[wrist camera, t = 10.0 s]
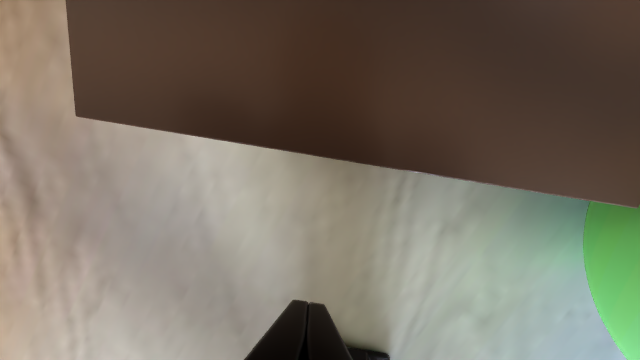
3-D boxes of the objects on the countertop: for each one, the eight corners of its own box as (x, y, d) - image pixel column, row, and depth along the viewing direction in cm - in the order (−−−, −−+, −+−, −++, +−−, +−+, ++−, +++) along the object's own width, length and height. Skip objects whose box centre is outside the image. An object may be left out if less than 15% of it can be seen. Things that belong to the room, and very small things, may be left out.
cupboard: (501, 145, 19) (638, 209, 10) (192, 94, 19) (74, 116, 10) (577, -72, 15) (875, -240, 7) (199, -139, 15) (29, -399, 7)
